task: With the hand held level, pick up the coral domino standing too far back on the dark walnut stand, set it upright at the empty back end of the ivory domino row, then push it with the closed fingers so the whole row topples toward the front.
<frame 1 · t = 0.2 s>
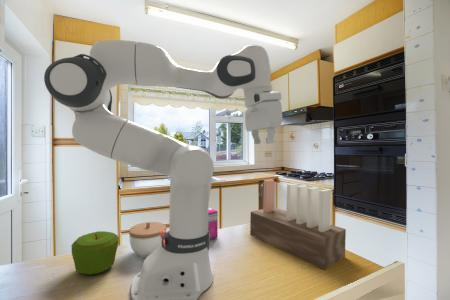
hand: (263, 143, 70), 40 cm above the worktop, tool pointing down, fingers open, 8 cm apart
supplement box: (208, 237, 95), on the worktop
apple: (96, 270, 69), on the worktop
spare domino: (268, 211, 99), point 10 cm above the worktop, touching domino stand
domino 5: (324, 229, 78), point 10 cm above the worktop, touching domino stand
domino 2: (291, 219, 89), point 10 cm above the worktop, touching domino stand
lidded bowl: (148, 253, 80), on the worktop
domino stand: (292, 244, 89), on the worktop
domino 4: (312, 226, 82), point 10 cm above the worktop, touching domino stand
domino 3: (301, 222, 85), point 10 cm above the worktop, touching domino stand
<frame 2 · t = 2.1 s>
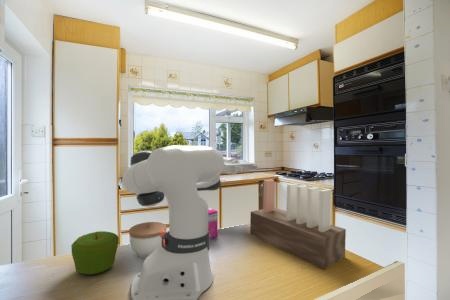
hand: (249, 168, 108), 28 cm above the worktop, tool horizontal, fingers open, 8 cm apart
nothing on the worktop moved.
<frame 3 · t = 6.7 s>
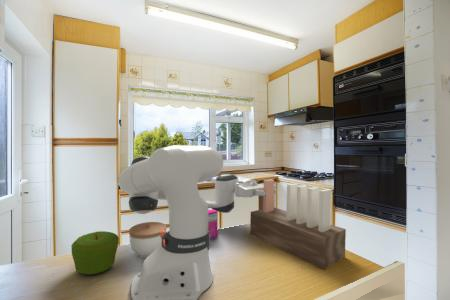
hand: (270, 192, 98), 18 cm above the worktop, tool horizontal, fingers closed on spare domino, 5 cm apart
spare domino: (268, 211, 99), point 10 cm above the worktop, touching domino stand, gripper
everything else where it was.
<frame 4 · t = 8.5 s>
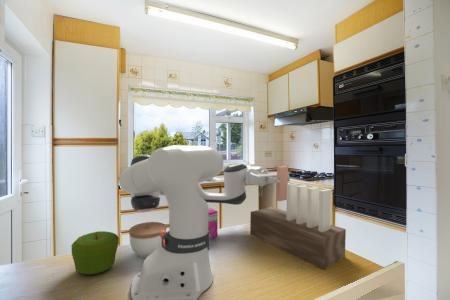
hand: (284, 180, 92), 25 cm above the worktop, tool horizontal, fingers closed on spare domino, 5 cm apart
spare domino: (281, 200, 93), point 17 cm above the worktop, touching gripper
everything else where it was.
when the fingers open (21 cm above the worktop, at t = 10.3 s): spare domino drops 2 cm, resting on domino stand.
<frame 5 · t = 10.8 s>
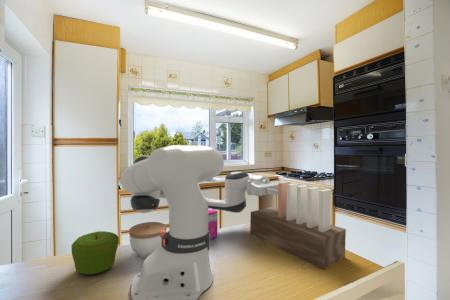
hand: (285, 191, 91), 21 cm above the worktop, tool horizontal, fingers open, 8 cm apart
supplement box: (208, 237, 95), on the worktop, touching arm
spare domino: (283, 216, 93), point 10 cm above the worktop, touching domino stand
everything else where it was.
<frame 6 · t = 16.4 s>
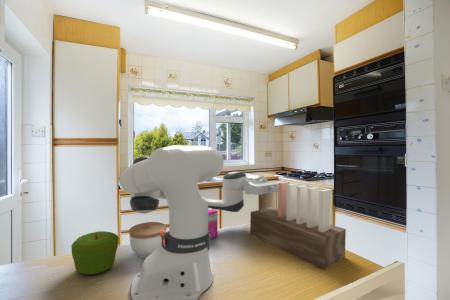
hand: (282, 190, 93), 21 cm above the worktop, tool horizontal, fingers closed, pressing on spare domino
supplement box: (208, 237, 95), on the worktop
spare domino: (283, 216, 93), point 10 cm above the worktop, touching domino stand, gripper
everything else where it was.
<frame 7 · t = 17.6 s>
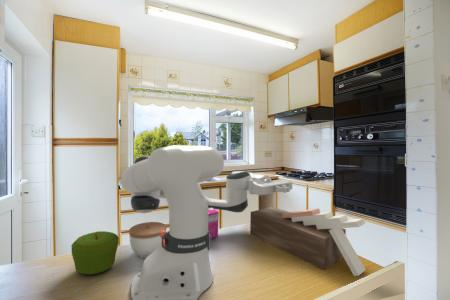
hand: (287, 190, 91), 21 cm above the worktop, tool horizontal, fingers closed
supplement box: (208, 236, 95), on the worktop, touching arm
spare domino: (285, 215, 91), point 11 cm above the worktop, tilted 70°, touching domino 2, domino stand
domino 5: (334, 228, 75), point 12 cm above the worktop, tilted 145°, touching domino 4, domino stand
domino 2: (295, 218, 87), point 11 cm above the worktop, tilted 70°, touching domino 3, domino stand, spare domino
domino 4: (320, 225, 80), point 11 cm above the worktop, tilted 70°, touching domino 3, domino 5
domino 3: (307, 221, 84), point 11 cm above the worktop, tilted 70°, touching domino 2, domino 4, domino stand
everything else where it was.
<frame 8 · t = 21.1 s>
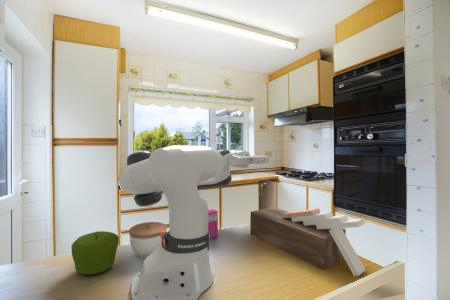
hand: (262, 161, 102), 32 cm above the worktop, tool horizontal, fingers closed
supplement box: (208, 237, 95), on the worktop
everything else where it was.
at the end: domino 5 tilted 145°; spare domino tilted 70°; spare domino inside the target area (0.7 cm from its centre), point 10.8 cm above the worktop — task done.
